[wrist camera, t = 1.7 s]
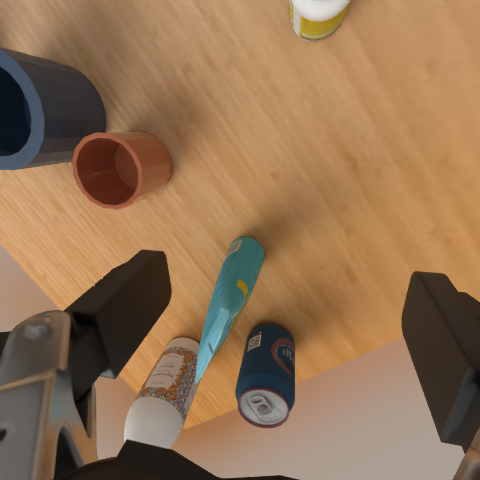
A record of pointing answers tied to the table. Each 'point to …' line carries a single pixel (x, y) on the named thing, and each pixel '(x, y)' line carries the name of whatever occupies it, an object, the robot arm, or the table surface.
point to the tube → (229, 296)
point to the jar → (44, 111)
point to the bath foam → (165, 396)
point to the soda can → (267, 377)
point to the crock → (120, 167)
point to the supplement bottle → (316, 17)
